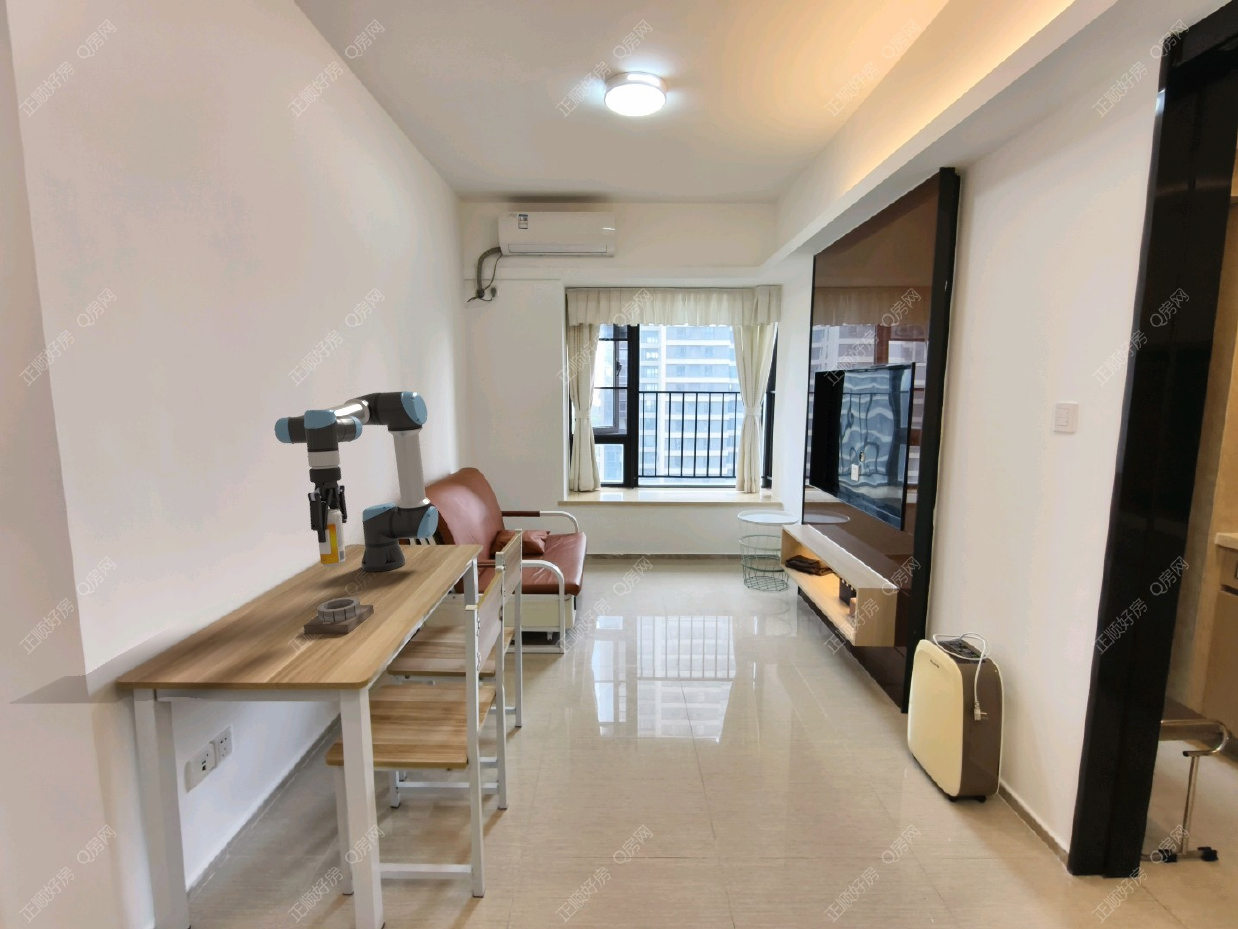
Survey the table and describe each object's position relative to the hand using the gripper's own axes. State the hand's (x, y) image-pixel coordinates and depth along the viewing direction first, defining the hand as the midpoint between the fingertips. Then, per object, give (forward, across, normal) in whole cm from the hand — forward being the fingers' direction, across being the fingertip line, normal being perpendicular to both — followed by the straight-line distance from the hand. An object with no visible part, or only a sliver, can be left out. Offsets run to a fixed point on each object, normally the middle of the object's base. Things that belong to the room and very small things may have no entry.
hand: (332, 550), depth 151 cm
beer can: (+4, 0, 0) cm, 4 cm away
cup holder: (+21, 0, 0) cm, 21 cm away
